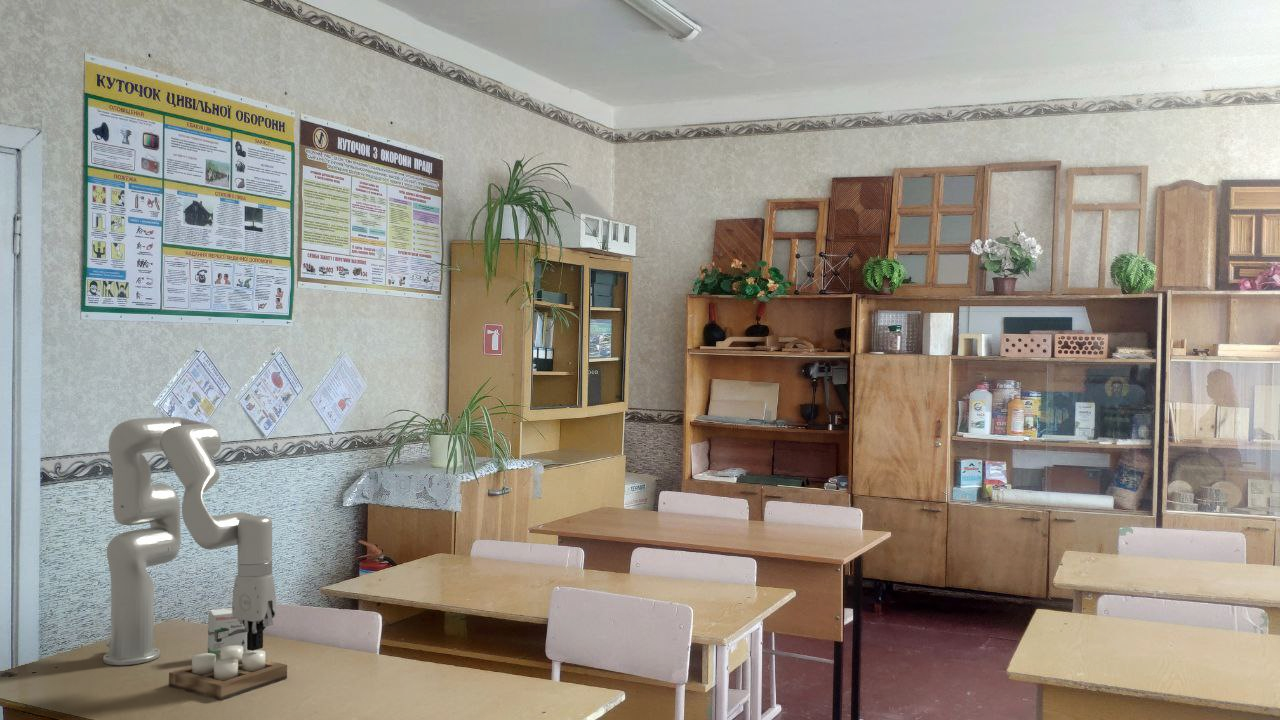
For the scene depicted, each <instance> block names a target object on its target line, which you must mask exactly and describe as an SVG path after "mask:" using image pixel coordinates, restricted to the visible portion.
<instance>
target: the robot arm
mask: <svg viewBox="0 0 1280 720" xmlns="http://www.w3.org/2000/svg"><path fill="white" fill-rule="evenodd" d="M221 447H222V439H221V435H220V433H219V431H218V430H217V429H216V428H215V427H214V426H213V425H211V424H209V423H205V422H202V421H197V420H193V419H190V418H189V419H188V418H184V417H179V416H165V417H164V416H163V417H143V418H132V419H128V420H125V421H123V422H120V423H118V424H117V425H116V426H115V427H114V428H113V429H112V432H110V436H109V439H108V452H109V459H110V461H111V467H112V468H111V469H112V502H113V503H112V505H113V509H112V510H113V516H114V519H115V520H116V521H115V522H117V523H118V524H119V525H122V526H137V525H144V524H149V526H150V527H147V528H139V529H134V530H133V529H132V530H129V531H124V532H121V533H118V534H117V535H115V536H114V537H112V539H111V540H110V541H109V542H108V544H107V548H106V558H107V564H108V567H109V574H110V639H109V640H106V641H105V642H104V643H105V644H104V645H105V647H108V649H109V651H108V652H107V653H106V654H104V655H103V658H102V661H103V663H105V664H107V665H111V666H112V665H113V666H131V665H132V666H133V665H138V664H143V663H147V662H151V661H154V660H156V659H158V658H159V657H160V655H161V650H160V649H159V648H156V647H154V617H155V615H154V614H155V613H154V612H155V607H154V606H155V602H154V601H155V587H154V582H153V579H152V578H151V576H150V574H149V573H148V571H147V568H149V567H152V566H153V567H154V566H157V565H162V564H166V563H169V562H171V561H173V560H175V559H176V558H177V556H178V555H179V552H180V548H181V541H182V539H181V538H182V537H181V534H182V533H181V530H182V529H181V516H182V520H183V523H184V525H185V527H186V528H187V530H188V532H189V534H190V536H191V537H192V539H193V540H194V542H195V543H196V544H197V545H198V546H199V547H200V548H203V549H204V550H207V551H208V550H211V551H212V550H218V549H223V548H227V547H232V546H233V547H234V546H237V575H236V576H235V579H234V584H233V589H232V602H231V604H232V605H231V608H232V615H233V617H235V618H237V619H238V621H240V622H241V623H243V624H244V626H245V631H246V632H247V651H254V650H262V649H263V647H264V631H265V630H266V627H270V626H272V625H274V620H273V619H274V618H275V617H276V612H277V604H276V603H277V601H276V600H277V597H276V595H277V594H276V586H275V579H274V576H273V520H272V519H271V517H270V516H268V515H258V514H257V515H253V514H250V513H247V512H240V511H239V512H231V513H225V514H224V513H223V514H217V515H214V516H212V514H211V513H210V512H209V510H208V508H207V507H206V504H205V501H204V496H203V495H204V493H205V492H206V491H208V490H209V489H210V488H212V487H213V486H214V485H215V484H216V483H217V482H218V480H219V479H220V471H219V469H218V467H217V466H216V465H215V463H214V460H213V459H212V458H211V457H214V456H215V455H216V454H217V453H219V452H220V450H221ZM155 452H163V454H164V456H165V457H166V459H167V461H168V463H169V465H170V466H171V468H172V470H173V472H174V473H175V474H176V477H177V478H178V480H179V483H181V485H182V487H183V489H184V493H183V495H182V499H181V500H182V501H180V497H179V495H178V493H177V491H176V489H175V488H173V486H171V485H169V484H167V483H154V484H152V470H151V466H150V464H149V462H148V460H147V458H146V457H145V456H144V455H143V454H144V453H155Z"/></svg>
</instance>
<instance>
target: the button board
mask: <svg viewBox="0 0 1280 720" xmlns="http://www.w3.org/2000/svg"><path fill="white" fill-rule="evenodd" d="M217 660H220V658H217V659H216V661H217ZM287 679H288V664H285V663H280V662H276V661H272V660H267V659H265V668H264V669H261V670H258V671H253V672H247V671H243V670H242V664H239V665H238V677H236V678H233V679H229V680H216V679H214V672H213V673H209V674H206V675H196V674H192V665H191V666H186V667H183V668H180V669H177V670H176V669H175V670H173V671H169V672H168V688H169V687H170V688H172V689H177V690H180V691H183V692H184V691H185V692H188V693H191V694H196V695H200V696H203V697H207V698H211V699H215V700H218V701H224V700H227V699H230V698H232V697H236V696H239V695H241V694H244V693H248V692H251V691H254V690H257V689H260V688H263V687H266V686H269V685H271V684H275V683H279V682H280V681H284V680H287Z"/></svg>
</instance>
